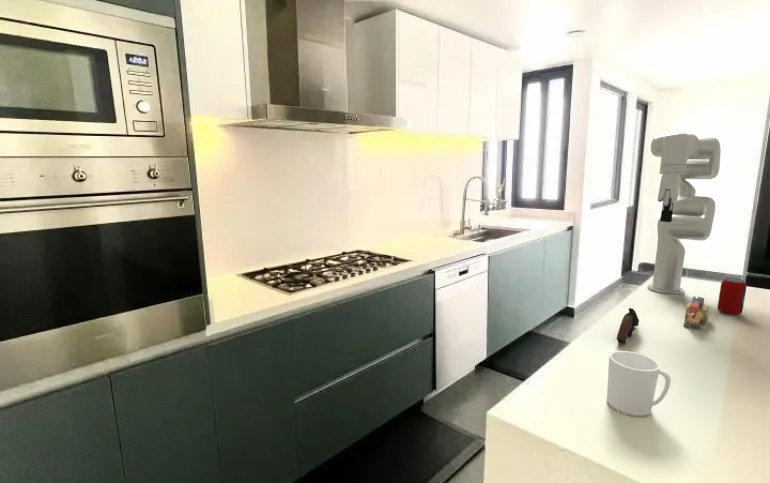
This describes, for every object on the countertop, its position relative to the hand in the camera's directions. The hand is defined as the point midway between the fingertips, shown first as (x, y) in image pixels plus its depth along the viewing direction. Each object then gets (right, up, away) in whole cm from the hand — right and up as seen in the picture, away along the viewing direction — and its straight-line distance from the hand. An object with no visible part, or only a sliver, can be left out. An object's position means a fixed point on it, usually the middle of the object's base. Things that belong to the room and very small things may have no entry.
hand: (665, 221), depth 146 cm
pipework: (+2, -33, -11) cm, 35 cm away
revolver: (-28, -36, -24) cm, 52 cm away
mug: (-49, -42, -61) cm, 89 cm away
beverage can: (+20, -32, -3) cm, 38 cm away
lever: (-1, -29, -16) cm, 33 cm away
